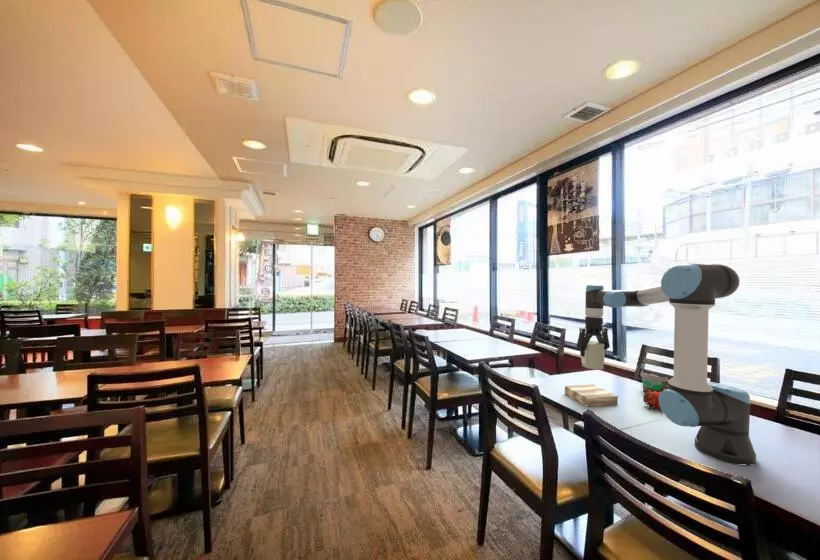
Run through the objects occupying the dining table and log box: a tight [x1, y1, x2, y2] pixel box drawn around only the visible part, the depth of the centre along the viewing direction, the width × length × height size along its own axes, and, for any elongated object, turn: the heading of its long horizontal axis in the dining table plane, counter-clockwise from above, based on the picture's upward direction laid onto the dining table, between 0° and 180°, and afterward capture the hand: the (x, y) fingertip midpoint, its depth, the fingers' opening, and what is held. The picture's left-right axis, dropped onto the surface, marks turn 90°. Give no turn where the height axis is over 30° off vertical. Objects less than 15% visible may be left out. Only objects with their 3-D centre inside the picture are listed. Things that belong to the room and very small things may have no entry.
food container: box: [640, 370, 669, 393], centre depth 166 cm, size 12×6×10 cm, turn 25°
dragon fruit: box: [642, 391, 661, 410], centre depth 149 cm, size 8×8×12 cm
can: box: [581, 340, 605, 370], centre depth 158 cm, size 9×9×12 cm
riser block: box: [564, 384, 619, 407], centre depth 159 cm, size 16×16×4 cm
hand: (592, 362), depth 158 cm, fingers closed on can, 9 cm apart
